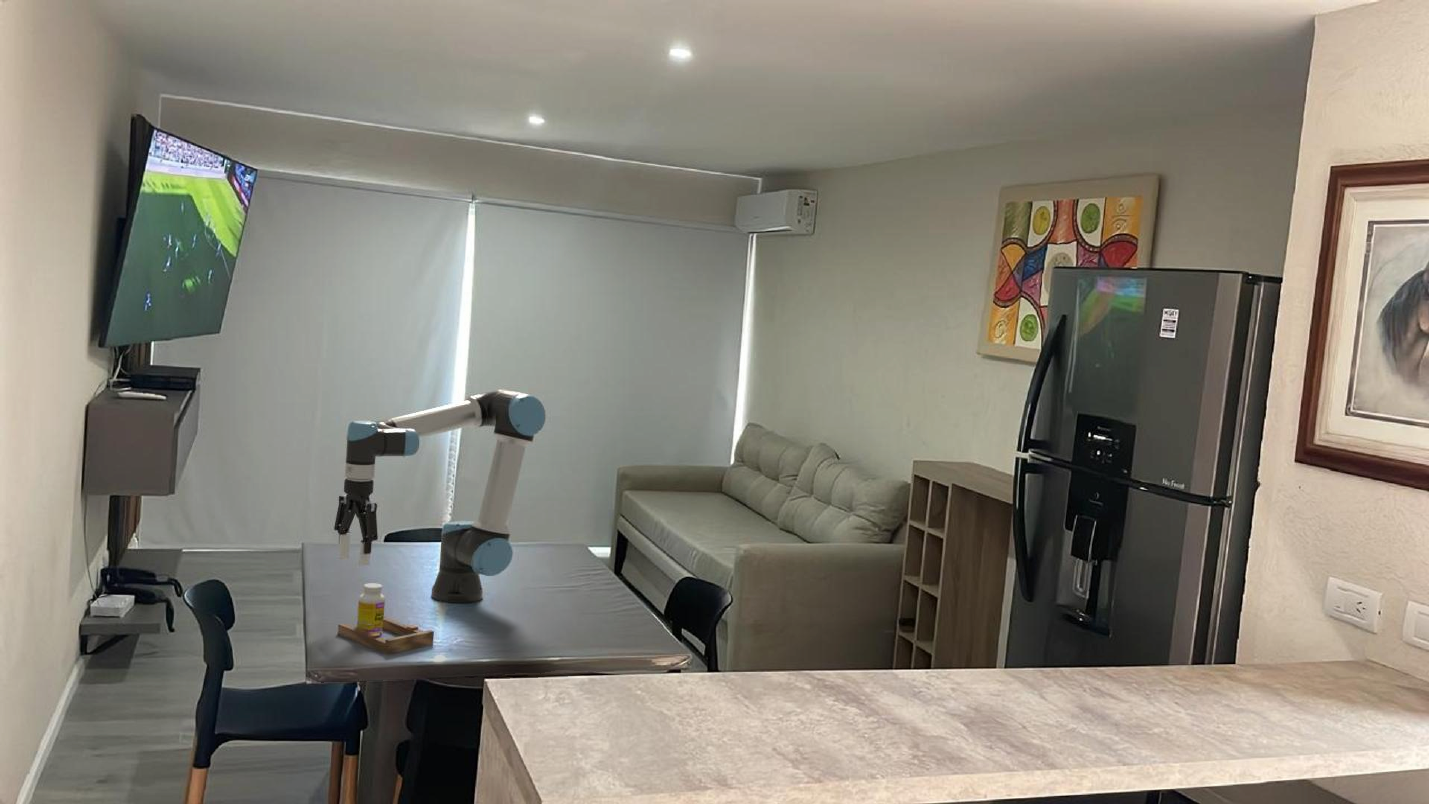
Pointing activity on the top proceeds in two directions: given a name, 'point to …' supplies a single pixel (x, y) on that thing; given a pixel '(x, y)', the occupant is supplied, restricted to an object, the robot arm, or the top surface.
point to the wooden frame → (406, 641)
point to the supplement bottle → (371, 609)
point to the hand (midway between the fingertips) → (353, 561)
